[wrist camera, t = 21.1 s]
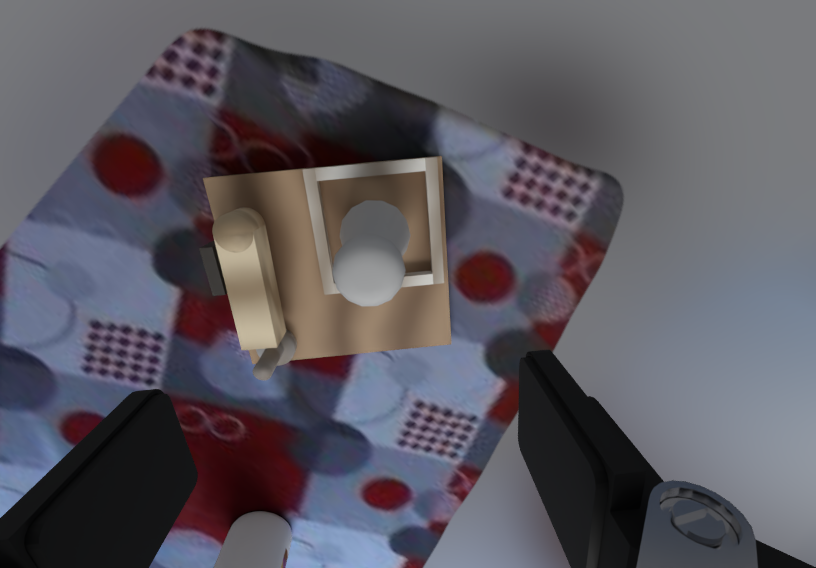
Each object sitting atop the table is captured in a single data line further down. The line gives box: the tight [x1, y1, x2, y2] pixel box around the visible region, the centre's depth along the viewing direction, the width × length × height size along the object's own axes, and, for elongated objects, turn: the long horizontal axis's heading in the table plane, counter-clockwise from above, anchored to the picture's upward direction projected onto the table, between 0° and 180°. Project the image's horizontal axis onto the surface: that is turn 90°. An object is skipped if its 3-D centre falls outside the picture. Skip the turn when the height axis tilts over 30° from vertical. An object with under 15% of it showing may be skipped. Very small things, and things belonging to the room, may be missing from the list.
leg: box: [213, 208, 286, 350], centre depth 31 cm, size 12×3×3 cm, turn 3°
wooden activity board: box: [199, 156, 451, 380], centre depth 33 cm, size 20×18×6 cm
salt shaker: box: [332, 200, 411, 306], centre depth 27 cm, size 6×6×13 cm
